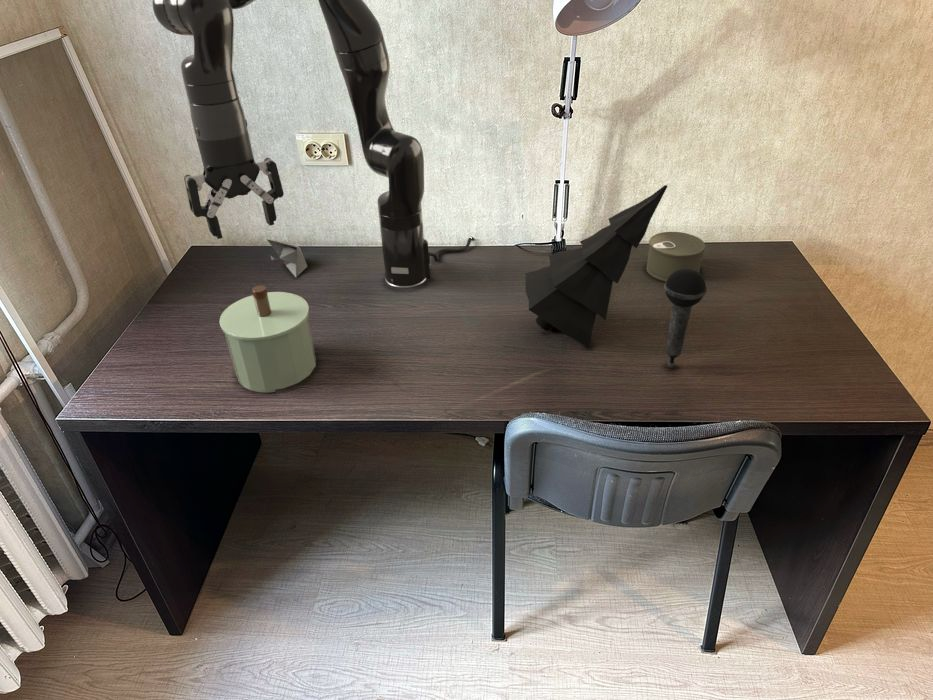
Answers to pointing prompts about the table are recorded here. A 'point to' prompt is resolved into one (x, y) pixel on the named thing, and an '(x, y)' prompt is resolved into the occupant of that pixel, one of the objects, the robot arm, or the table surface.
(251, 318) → the lid
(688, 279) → the microphone
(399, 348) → the table surface
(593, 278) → the decorative tree
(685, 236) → the can
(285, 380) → the crock
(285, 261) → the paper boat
